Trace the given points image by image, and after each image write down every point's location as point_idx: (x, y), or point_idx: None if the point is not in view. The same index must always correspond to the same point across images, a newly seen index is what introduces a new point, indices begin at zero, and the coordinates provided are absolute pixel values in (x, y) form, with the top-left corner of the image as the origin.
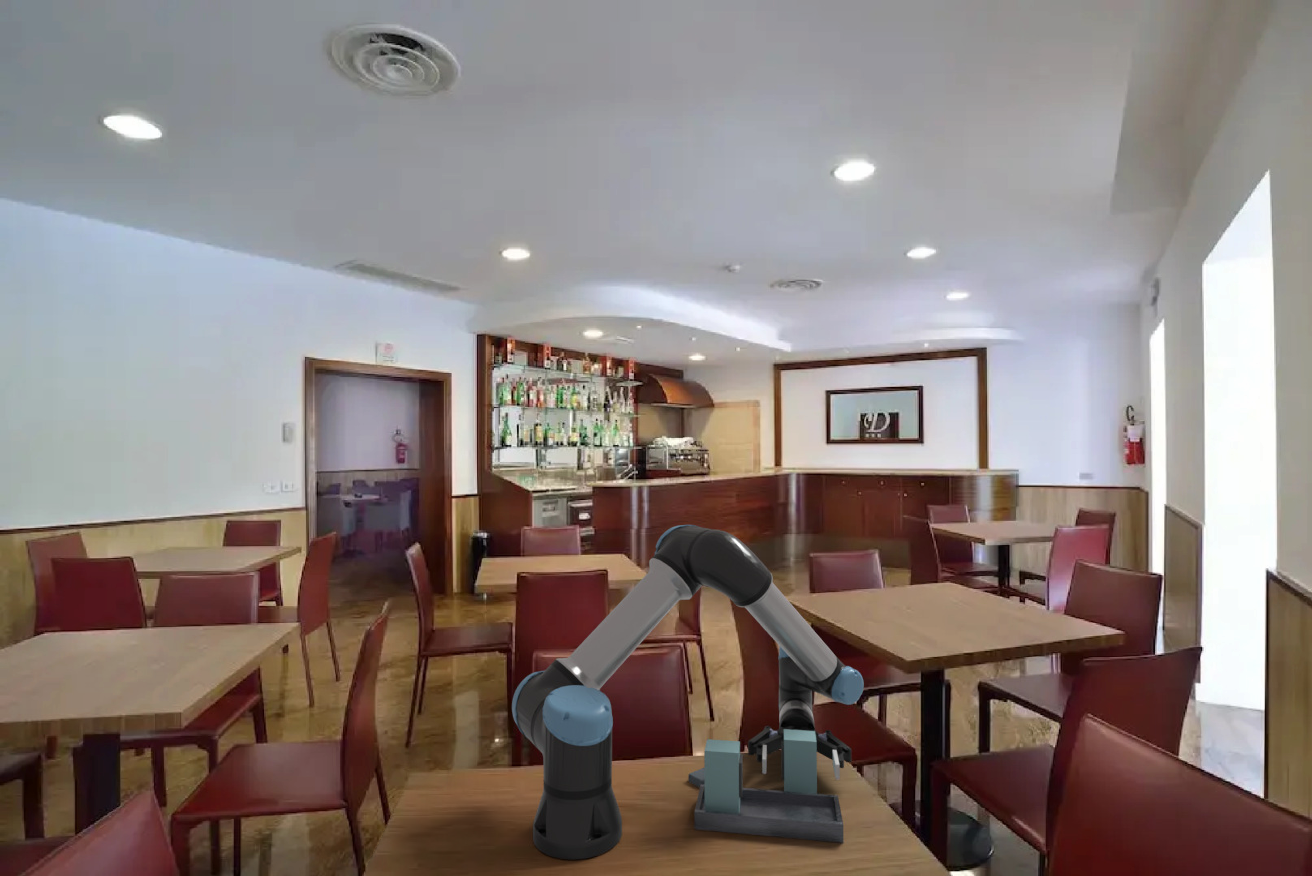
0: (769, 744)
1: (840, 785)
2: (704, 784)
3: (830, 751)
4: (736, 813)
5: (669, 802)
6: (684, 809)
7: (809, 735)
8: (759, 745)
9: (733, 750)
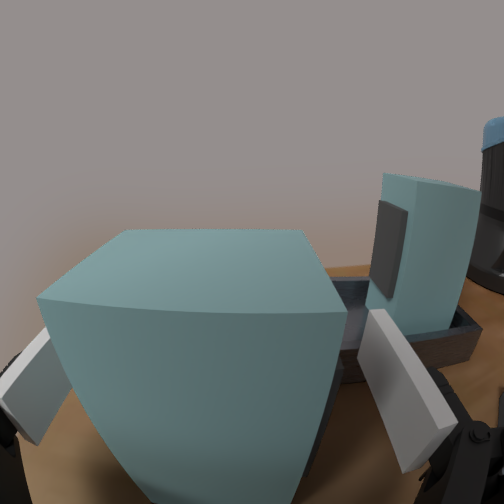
0: (433, 501)
1: (55, 501)
2: (502, 398)
3: (2, 453)
4: (363, 279)
5: (497, 338)
6: None
7: (122, 260)
8: (470, 422)
9: (399, 175)
